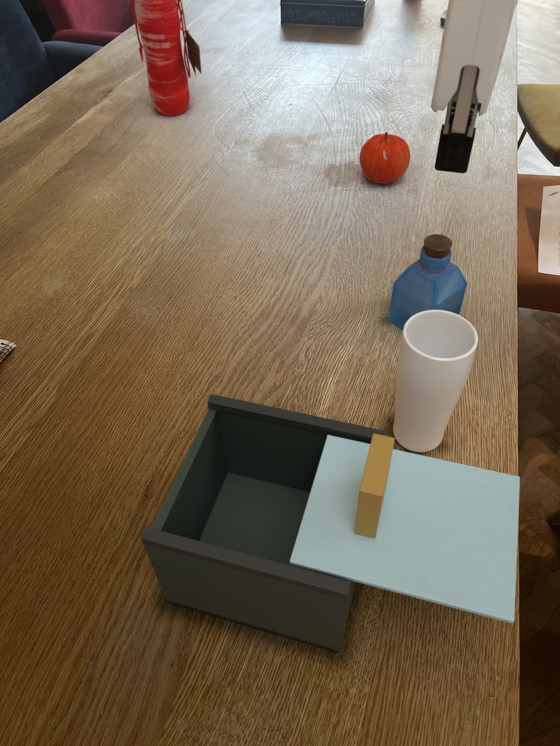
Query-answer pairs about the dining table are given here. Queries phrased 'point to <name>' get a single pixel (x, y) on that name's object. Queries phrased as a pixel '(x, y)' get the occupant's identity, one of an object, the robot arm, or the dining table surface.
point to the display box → (250, 523)
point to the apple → (384, 158)
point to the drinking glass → (431, 376)
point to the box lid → (413, 526)
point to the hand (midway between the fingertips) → (450, 167)
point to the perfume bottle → (428, 283)
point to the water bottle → (166, 53)
